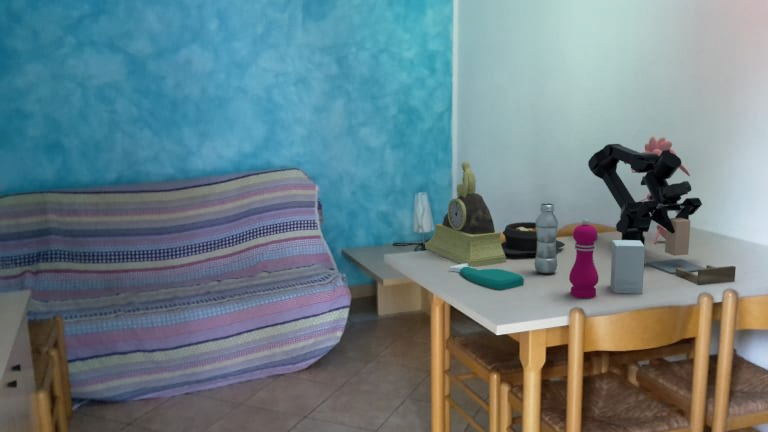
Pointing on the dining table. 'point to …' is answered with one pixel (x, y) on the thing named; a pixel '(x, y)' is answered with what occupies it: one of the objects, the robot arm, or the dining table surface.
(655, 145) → the pink artificial flower
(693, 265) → the slate rubber mat
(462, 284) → the dining table surface
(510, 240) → the casserole
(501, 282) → the spray bottle
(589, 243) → the pepper mill
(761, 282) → the dining table surface
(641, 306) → the dining table surface
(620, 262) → the supplement box
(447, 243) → the decorative clock
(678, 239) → the peach block
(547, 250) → the plastic bottle
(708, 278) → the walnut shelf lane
